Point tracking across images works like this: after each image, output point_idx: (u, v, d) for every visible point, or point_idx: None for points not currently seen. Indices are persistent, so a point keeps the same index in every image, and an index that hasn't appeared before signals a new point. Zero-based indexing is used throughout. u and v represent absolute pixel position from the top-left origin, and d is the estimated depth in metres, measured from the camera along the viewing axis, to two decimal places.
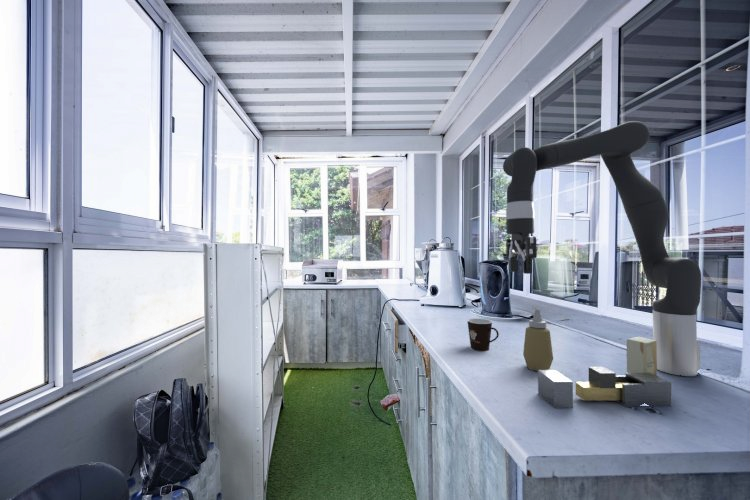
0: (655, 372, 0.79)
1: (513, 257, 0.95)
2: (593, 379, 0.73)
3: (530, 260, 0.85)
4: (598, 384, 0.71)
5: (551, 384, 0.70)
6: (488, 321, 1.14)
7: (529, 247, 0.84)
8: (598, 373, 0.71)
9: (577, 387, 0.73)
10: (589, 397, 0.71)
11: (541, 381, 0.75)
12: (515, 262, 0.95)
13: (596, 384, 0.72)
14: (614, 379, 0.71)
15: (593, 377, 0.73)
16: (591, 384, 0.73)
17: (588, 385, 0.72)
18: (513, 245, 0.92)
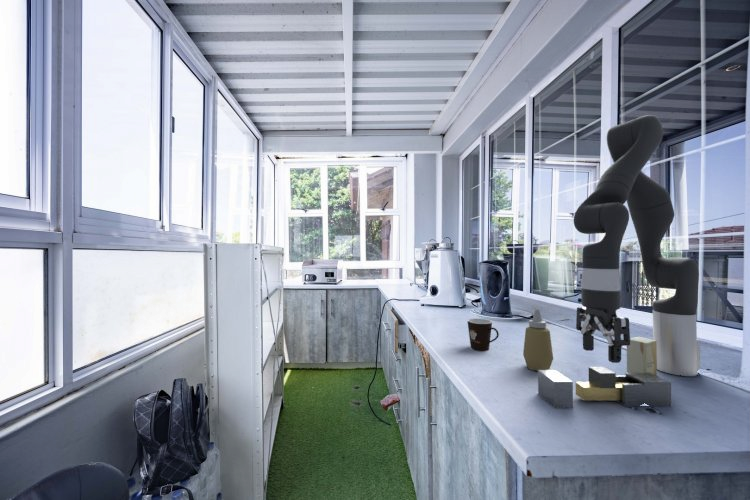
0: (655, 372, 0.79)
1: (587, 332, 0.77)
2: (593, 379, 0.73)
3: (619, 347, 0.67)
4: (598, 384, 0.71)
5: (551, 384, 0.70)
6: (488, 321, 1.14)
7: (620, 332, 0.66)
8: (598, 373, 0.71)
9: (577, 387, 0.73)
10: (589, 397, 0.71)
11: (541, 381, 0.75)
12: (591, 338, 0.77)
13: (596, 384, 0.72)
14: (614, 379, 0.71)
15: (593, 377, 0.73)
16: (591, 384, 0.73)
17: (588, 385, 0.72)
18: (590, 320, 0.74)
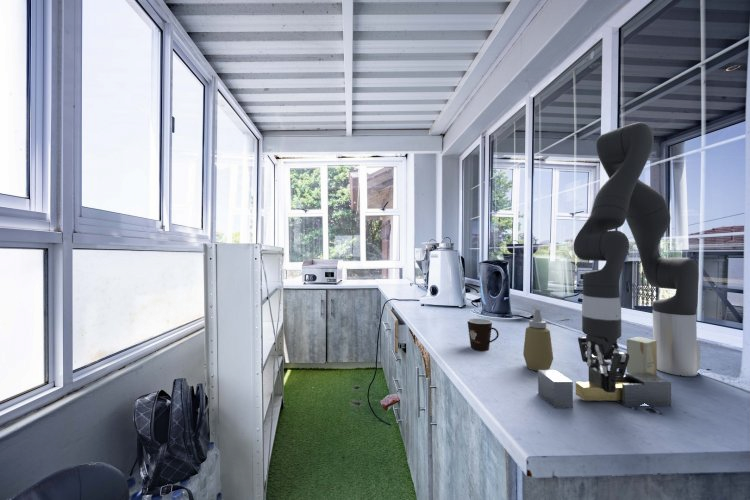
0: (655, 372, 0.79)
1: (594, 365, 0.75)
2: (593, 379, 0.73)
3: (614, 377, 0.69)
4: (598, 384, 0.71)
5: (551, 384, 0.70)
6: (488, 321, 1.14)
7: (617, 367, 0.67)
8: (598, 373, 0.71)
9: (577, 387, 0.73)
10: (589, 397, 0.71)
11: (541, 381, 0.75)
12: None
13: (596, 384, 0.72)
14: None
15: (593, 377, 0.73)
16: (591, 384, 0.73)
17: (588, 385, 0.72)
18: (592, 347, 0.73)
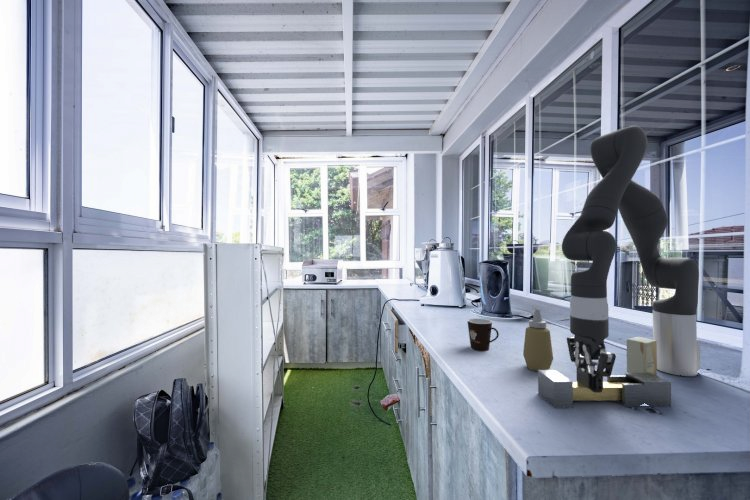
0: (655, 372, 0.79)
1: (582, 365, 0.75)
2: (581, 379, 0.73)
3: (601, 377, 0.69)
4: (585, 384, 0.71)
5: (551, 384, 0.70)
6: (488, 321, 1.14)
7: (604, 367, 0.67)
8: (586, 373, 0.71)
9: None
10: (576, 397, 0.71)
11: (541, 381, 0.75)
12: None
13: (583, 384, 0.72)
14: None
15: (581, 377, 0.73)
16: (579, 384, 0.73)
17: (576, 385, 0.72)
18: (580, 347, 0.74)
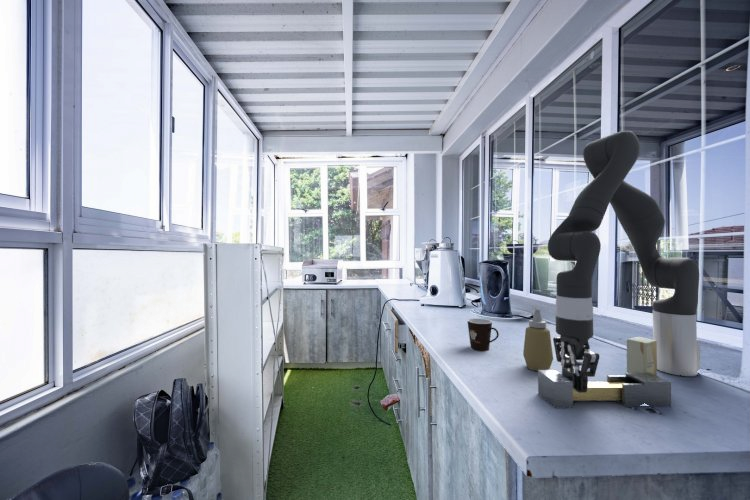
0: (655, 372, 0.79)
1: (567, 365, 0.75)
2: None
3: (585, 377, 0.69)
4: None
5: (551, 384, 0.70)
6: (488, 321, 1.14)
7: (588, 367, 0.67)
8: (571, 373, 0.71)
9: None
10: None
11: (541, 381, 0.75)
12: None
13: None
14: None
15: (566, 377, 0.73)
16: None
17: None
18: (565, 347, 0.74)
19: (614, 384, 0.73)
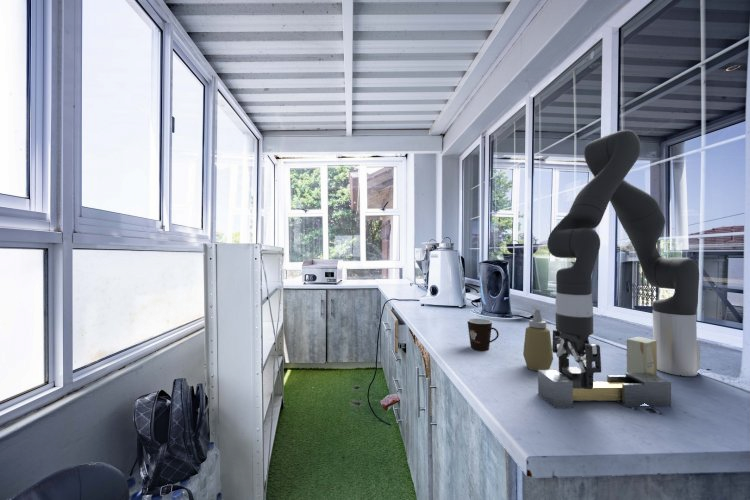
0: (655, 372, 0.79)
1: (563, 355, 0.77)
2: None
3: (591, 373, 0.67)
4: None
5: (551, 384, 0.70)
6: (488, 321, 1.14)
7: (591, 359, 0.66)
8: (570, 373, 0.71)
9: None
10: None
11: (541, 381, 0.75)
12: (566, 361, 0.77)
13: None
14: None
15: (566, 377, 0.73)
16: None
17: None
18: (565, 344, 0.74)
19: (614, 384, 0.73)
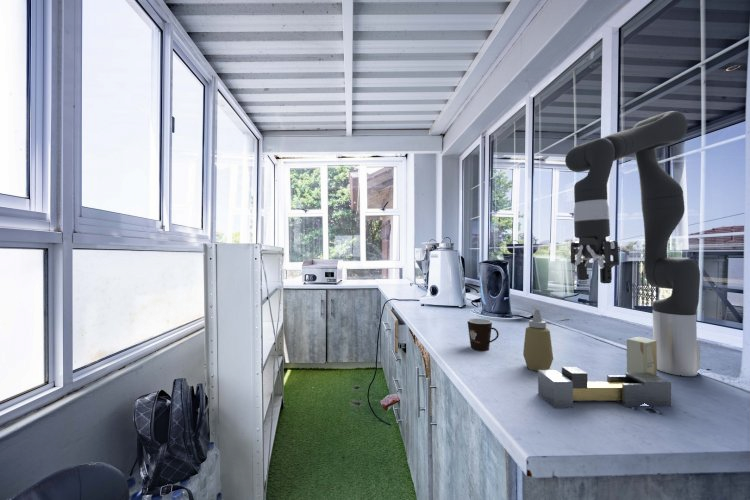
0: (655, 372, 0.79)
1: (581, 263, 0.84)
2: None
3: (610, 268, 0.74)
4: None
5: (551, 384, 0.70)
6: (488, 321, 1.14)
7: (610, 253, 0.72)
8: (570, 373, 0.71)
9: None
10: None
11: (541, 381, 0.75)
12: (584, 269, 0.83)
13: None
14: (585, 380, 0.71)
15: (566, 377, 0.73)
16: None
17: None
18: (583, 250, 0.81)
19: (614, 384, 0.73)
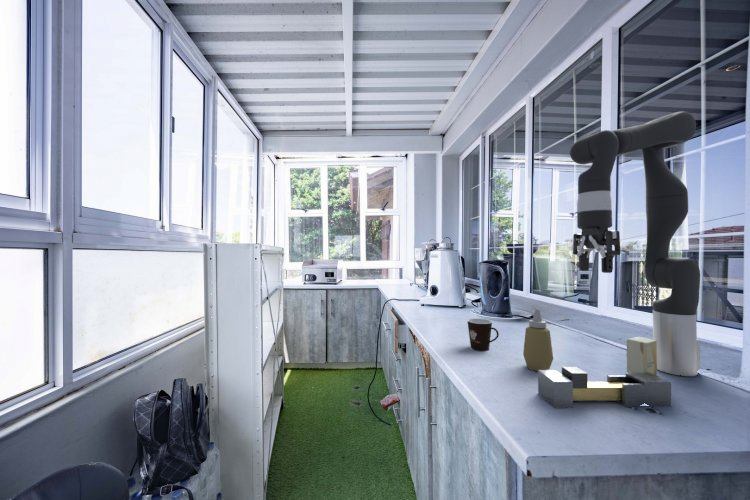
0: (655, 372, 0.79)
1: (583, 254, 0.85)
2: None
3: (611, 257, 0.75)
4: None
5: (551, 384, 0.70)
6: (488, 321, 1.14)
7: (612, 243, 0.74)
8: (570, 373, 0.71)
9: None
10: None
11: (541, 381, 0.75)
12: (586, 259, 0.85)
13: None
14: (585, 380, 0.71)
15: (566, 377, 0.73)
16: None
17: None
18: (585, 241, 0.82)
19: (614, 384, 0.73)
